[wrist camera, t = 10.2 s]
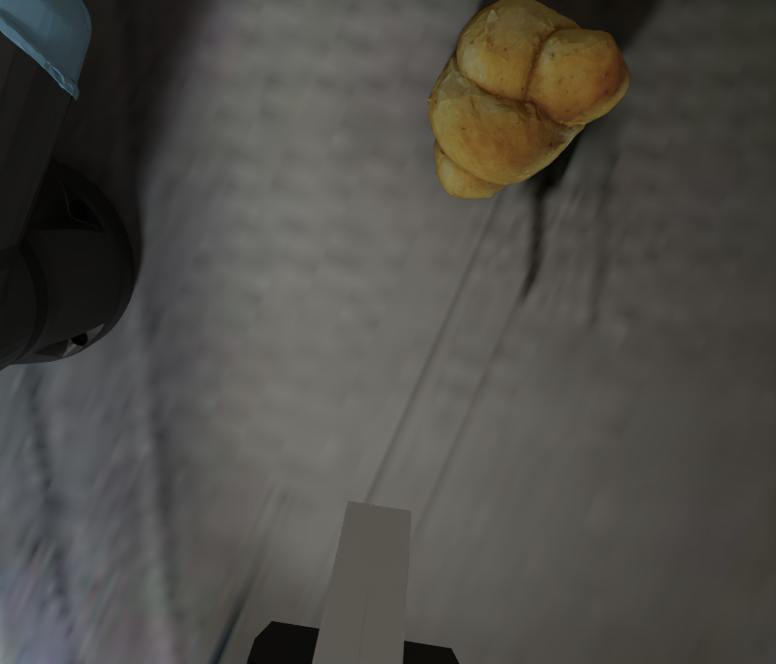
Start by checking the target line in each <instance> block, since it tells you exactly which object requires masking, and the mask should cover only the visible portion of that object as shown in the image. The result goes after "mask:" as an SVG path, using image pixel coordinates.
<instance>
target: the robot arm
mask: <svg viewBox="0 0 776 664" xmlns="http://www.w3.org/2000/svg"><path fill="white" fill-rule="evenodd" d="M91 33H92V25H91V19H90V15H89V12H88V10H87V8H86V6H85V4H84V3H83V1H82V0H0V371H1V370H2V369H4V368H5V367H7V366H9V365H15V364H28V363H41V362H50V361H56V360H60V359H63V358H66V357H69V356H72V355H74V354H77V353H79V352H81V351H82V350H84V349H86V348H87V347H89V346H90V345H92V344H93V343H95V342H97V341H98V340H100V339H101V338H102V337H104V336H105V335H106V334H107V333H108V332H109V331H110V330H111V329H112V328H113V327H114V326H115V325H116V324H117V322H118V321H119V319H120V318H121V316H122V315H123V313H124V311H125V309H126V307H127V304H128V302H129V299H130V295H131V291H132V286H133V276H134V266H133V256H132V250H131V246H130V242H129V239H128V236H127V233H126V231H125V228H124V226H123V224H122V222H121V220H120V218H119V216H118V215H117V213H116V211H115V210H114V208H113V207H112V205H111V204H110V203H109V201H108V200H107V199H106V198H105V196H104V195H103V194H102V193H101V192H100V191H99V190H98V189H97V188H96V187H95V186H94V185H93V184H92V183H91V182H89V181H88V180H87V179H86V178H84V177H83V176H82V175H80V174H79V173H77V172H76V171H74V170H72V169H71V168H69V167H67V166H65V165H63V164H61V163H58V162H56V161H53V160H51V157H52V154H53V151H54V148H55V145H56V143H57V140H58V137H59V134H60V131H61V128H62V125H63V123H64V120H65V117H66V114H67V111H68V108H69V105H70V102H71V100H72V99H73V100H77V99H78V96H79V89H78V87H77V83H78V80H79V76H80V73H81V70H82V66H83V63H84V59H85V56H86V53H87V49H88V46H89V43H90V39H91ZM410 526H411V511H407V510H401V509H395V508H388V507H382V506H376V505H369V504H363V503H357V502H350V501H348V504H347V509H346V513H345V518H344V522H343V527H342V531H341V536H340V540H339V545H338V549H337V554H336V558H335V563H334V567H333V572H332V576H331V581H330V585H329V590H328V594H327V599H326V603H325V607H324V612H323V616H322V621H321V625H320V629H318V628H311V627H305V626H299V625H293V624H287V623H281V622H274V621H272V622H271V623H270V624H269V625H268V626H267V627H266V628H265V629H264V630H263V631H262V632H261V633H260V634H259V635H258V636H257V637H256V638H255V640H254V643H253V646H252V649H251V651H250V654H249V657H248V660H247V664H459V662H458V660H457V659H456V657H455V655H454V653H453V651H452V649H451V648H446V647H439V646H433V645H427V644H421V643H415V642H409V641H404V632H405V614H406V597H407V579H408V561H409V544H410Z"/></svg>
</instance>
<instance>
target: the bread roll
mask: <svg viewBox="0 0 776 664" xmlns="http://www.w3.org/2000/svg"><path fill="white" fill-rule="evenodd" d="M630 78H631V76H630V73H629V70H628V66H627V64H626V62H625V59H624V57H623V55H622V53H621V51H620V50H619V48H618V47H617V45H616V43H615V41H614V38H613V37H612V36H611V35H610V34H609V33H607V32H604V31H602V30H588V29H581V28H580V27H579V26H578V25H577V24H576V23H575V22H574V21H572V20H571V19H569V18H567V17H565V16H563V15H560V14H559V13H557V12H556V11H555V10H553V9H550V8H548V7H547V6H545V5H543V4H541V3H540V2H538V1H536V0H500V1H497V2H495V3H494V4H492V5H490V6H487V7H485V8H484V9H482V10H481V11H479V12H478V13H477V14H476V15H474V17H473V18H472V19H471V20H470V21H469V22H468V24H467V25H466V26H465V27H464V28H463V30H462V32H461V34H460V36H459V40H458V44H457V51H456V52H455V53H454V54H453V55H452V56H451V58H450V60H449V61H448V63H447V64H446V66H445V68H444V69H443V71H442V73H441V74H440V76H439V77H438V79H437V81H436V83H435V85H434V88H433V90H432V92H431V95H430V98H427V100H428V103H429V104H428V115H429V119H430V123H431V127H432V131H433V133H434V135H435V137H436V139H435V144H434V152H435V156H434V158H435V160H436V172H437V175H438V177H439V179H440V182H441V184H442V187H443V188H444V189H445V190H446V191H447V192H448V193H449V194H451V195H453V196H455V197H458V198H463V199H480V198H490V197H492V196H493V195H494V194H495V193H497V192H498V191H500V190H501V189H503V188H504V187H505V186H506V185H508V184H511V183H519V182H521V181H523V180H525V179H527V178H530V177H531V176H533V175H534V174H535V173H537V172H539V171H540V170H541V169H543V168H544V167H546V166H548V165H549V164H550V163H551V162H552V161H553V160H554V159H556V158H557V157H558V156H559V154H560V153H561V152H562V151H563V150H564V149H565V148H566V147H567V145H568V144H569V143H570V142H571V141H572V139H573V138H574V136H576V135H577V134H578V133H579V132H580V131H581V130H582V129H583V128H584V126H585V124H587V123H589V122H591V121H593V120H595V119H597V118H599V117H601V116H603V115H604V114H606V113H607V112H609V111H610V110H611V109H612V108H613V107H614V106H615V105H616V104H617V103H618V102H619V101H620V100H621V99H622V97H623V96H624V95H625V93H626V91H627V89H628V87H629V85H630Z"/></svg>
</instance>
